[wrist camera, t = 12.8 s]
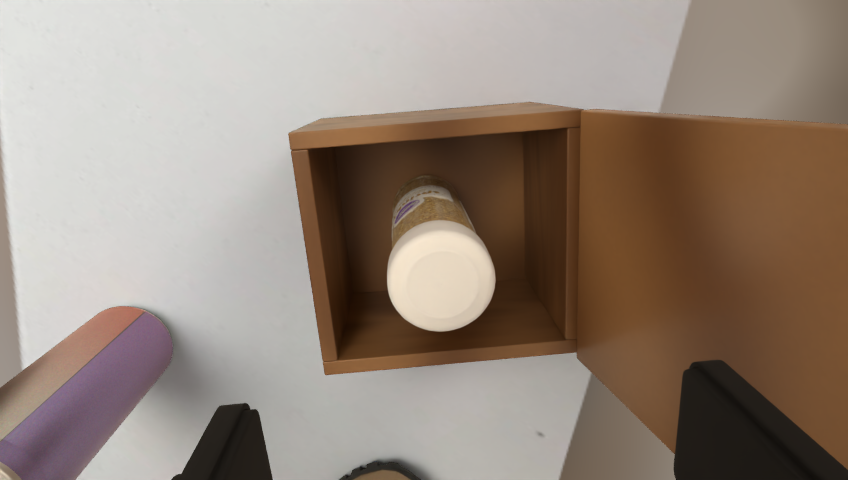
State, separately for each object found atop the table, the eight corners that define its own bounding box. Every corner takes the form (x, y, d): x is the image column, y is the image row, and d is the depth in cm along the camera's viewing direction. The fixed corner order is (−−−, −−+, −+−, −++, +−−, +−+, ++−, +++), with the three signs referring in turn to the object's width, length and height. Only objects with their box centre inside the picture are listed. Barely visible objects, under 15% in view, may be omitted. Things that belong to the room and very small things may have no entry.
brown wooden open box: (344, 299, 36) (324, 375, 27) (320, 118, 32) (287, 132, 23) (533, 283, 36) (580, 352, 27) (531, 101, 33) (584, 109, 23)
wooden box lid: (856, 635, 13) (1010, 582, 14) (978, 138, 9) (1176, 112, 10) (576, 358, 26) (664, 341, 27) (579, 110, 23) (681, 100, 24)
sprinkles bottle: (414, 160, 33) (424, 210, 20) (473, 196, 33) (519, 266, 21) (379, 220, 34) (365, 304, 21) (437, 253, 34) (459, 353, 22)
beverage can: (190, 326, 36) (53, 485, 22) (157, 389, 37) (7, 578, 23) (109, 287, 35) (-93, 428, 21) (78, 354, 36) (-132, 529, 22)
